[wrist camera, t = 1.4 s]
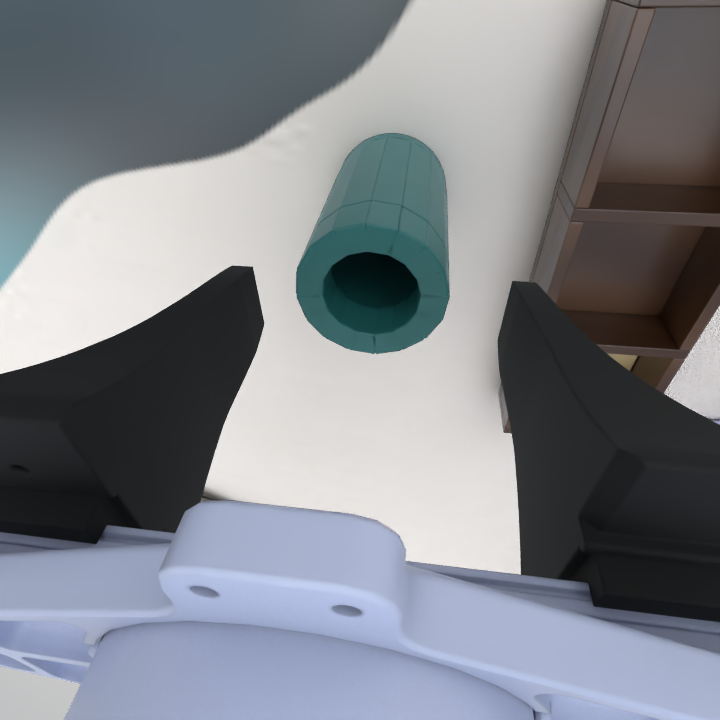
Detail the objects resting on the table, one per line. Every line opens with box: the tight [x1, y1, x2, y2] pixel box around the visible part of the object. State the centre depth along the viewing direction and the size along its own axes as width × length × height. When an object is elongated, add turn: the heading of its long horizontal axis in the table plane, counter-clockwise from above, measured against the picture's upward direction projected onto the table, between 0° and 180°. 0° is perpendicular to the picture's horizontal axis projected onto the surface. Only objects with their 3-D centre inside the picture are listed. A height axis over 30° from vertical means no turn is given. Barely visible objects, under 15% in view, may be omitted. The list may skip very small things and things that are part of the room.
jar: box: [296, 133, 449, 354], centre depth 16 cm, size 5×5×8 cm
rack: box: [499, 0, 720, 433], centre depth 19 cm, size 19×7×3 cm, turn 1°
